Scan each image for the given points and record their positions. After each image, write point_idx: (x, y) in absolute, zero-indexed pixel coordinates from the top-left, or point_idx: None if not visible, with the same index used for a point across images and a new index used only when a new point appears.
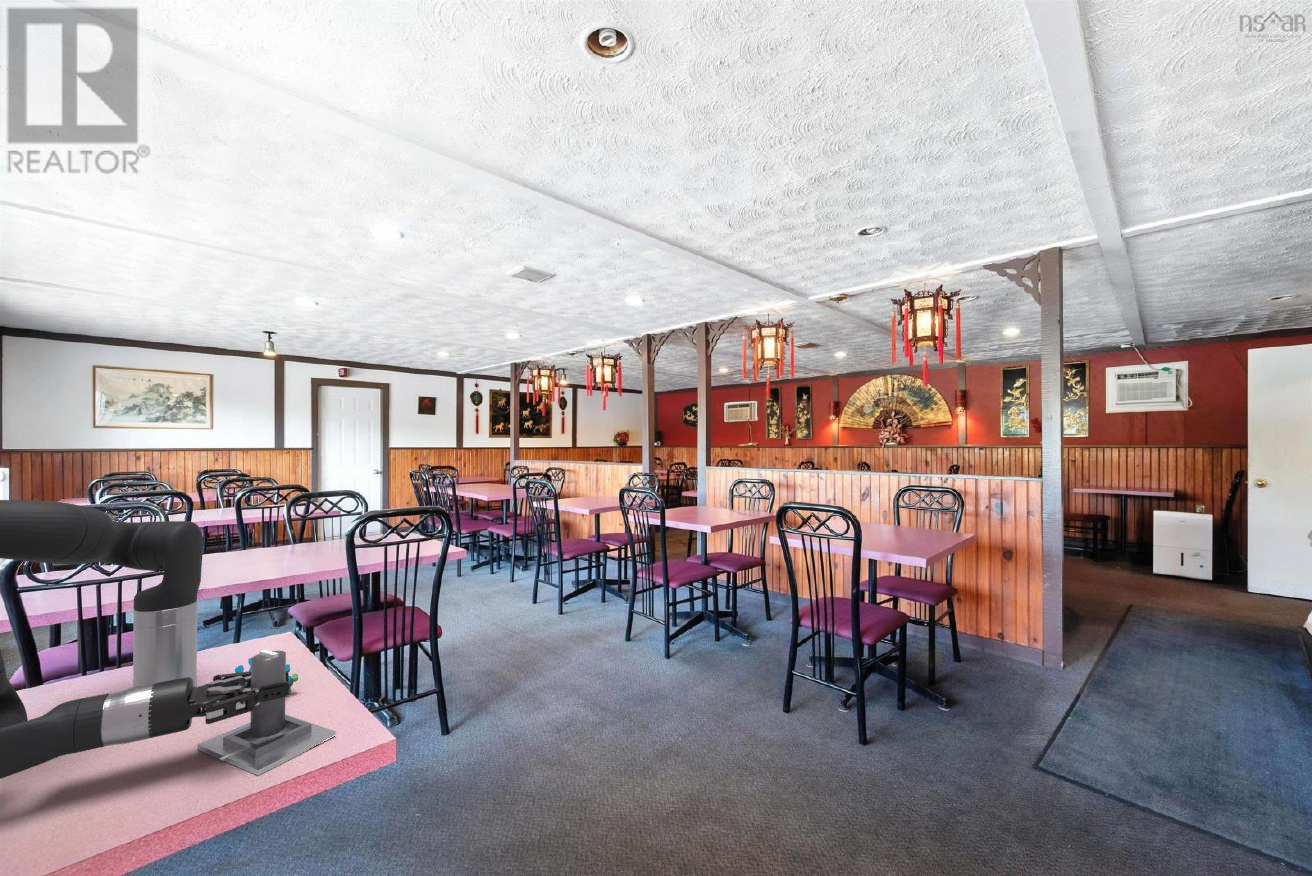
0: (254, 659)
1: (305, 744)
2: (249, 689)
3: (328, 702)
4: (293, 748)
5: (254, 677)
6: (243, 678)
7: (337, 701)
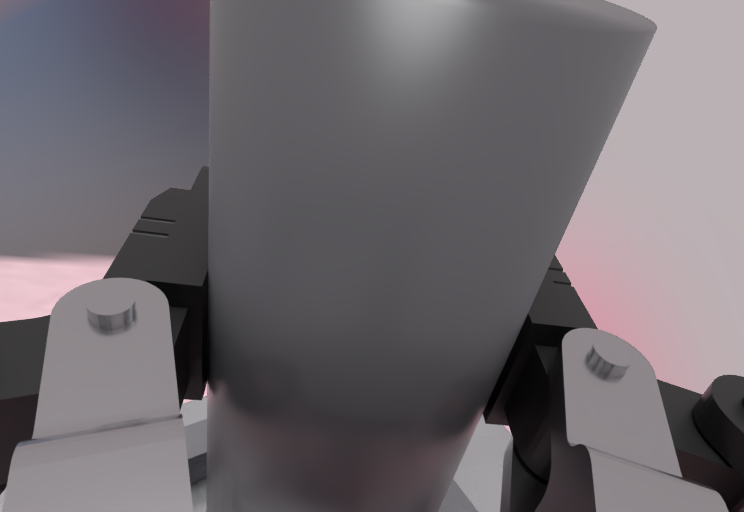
0: (524, 13)
1: (483, 421)
2: (621, 405)
3: (26, 304)
4: (501, 465)
5: (529, 277)
6: (177, 426)
7: (57, 282)
